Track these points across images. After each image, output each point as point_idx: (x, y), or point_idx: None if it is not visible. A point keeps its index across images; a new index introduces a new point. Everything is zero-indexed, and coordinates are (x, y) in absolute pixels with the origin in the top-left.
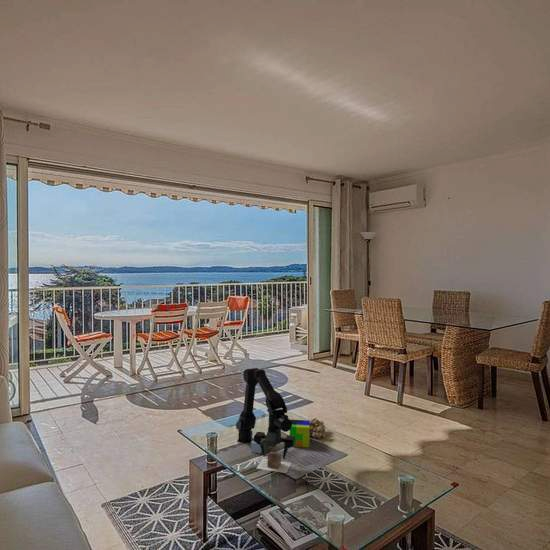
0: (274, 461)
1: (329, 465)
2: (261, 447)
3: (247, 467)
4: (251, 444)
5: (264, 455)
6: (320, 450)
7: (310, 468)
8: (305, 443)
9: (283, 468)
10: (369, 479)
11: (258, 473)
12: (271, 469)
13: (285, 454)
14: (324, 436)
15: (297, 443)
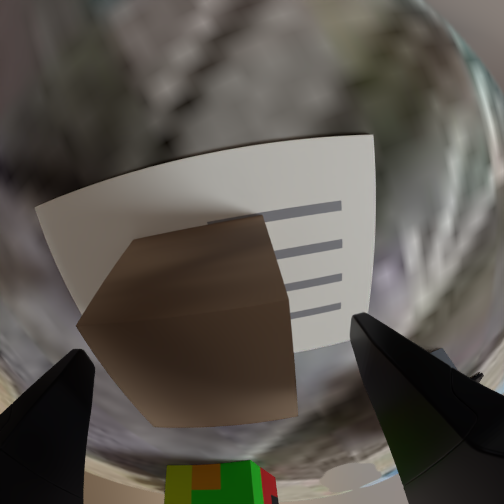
0: (152, 274)
1: (3, 378)
2: (482, 398)
3: (446, 137)
4: None
5: (361, 322)
6: (115, 455)
7: (10, 339)
8: (179, 479)
9: (97, 271)
10: None
11: (301, 44)
12: (190, 189)
13: (25, 392)
14: (164, 491)
15: (213, 476)
